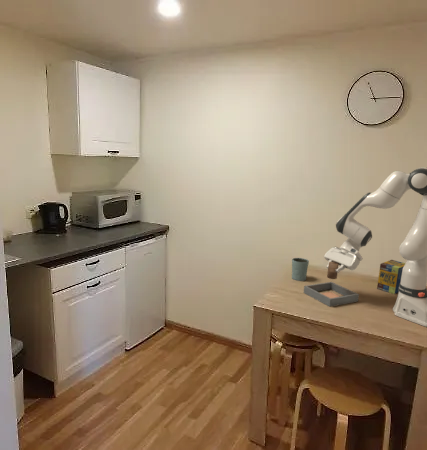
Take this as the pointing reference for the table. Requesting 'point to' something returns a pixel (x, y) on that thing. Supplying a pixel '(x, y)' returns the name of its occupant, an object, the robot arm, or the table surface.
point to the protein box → (390, 276)
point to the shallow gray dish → (331, 294)
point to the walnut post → (332, 270)
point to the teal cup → (299, 269)
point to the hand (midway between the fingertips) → (332, 269)
